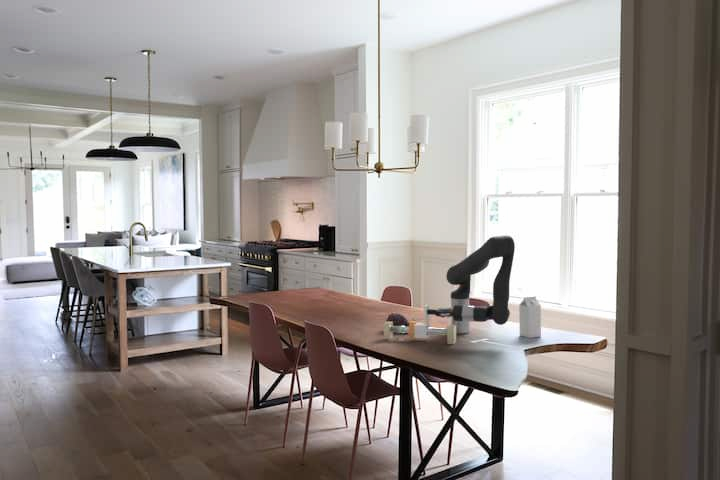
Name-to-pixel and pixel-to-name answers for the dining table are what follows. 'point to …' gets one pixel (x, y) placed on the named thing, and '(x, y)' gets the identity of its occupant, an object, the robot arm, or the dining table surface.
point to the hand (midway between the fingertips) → (427, 311)
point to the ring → (411, 329)
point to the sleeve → (422, 326)
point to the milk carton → (530, 317)
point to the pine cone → (398, 320)
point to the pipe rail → (437, 331)
